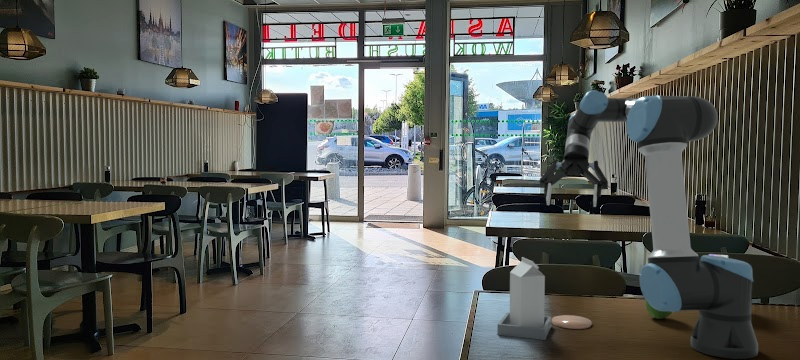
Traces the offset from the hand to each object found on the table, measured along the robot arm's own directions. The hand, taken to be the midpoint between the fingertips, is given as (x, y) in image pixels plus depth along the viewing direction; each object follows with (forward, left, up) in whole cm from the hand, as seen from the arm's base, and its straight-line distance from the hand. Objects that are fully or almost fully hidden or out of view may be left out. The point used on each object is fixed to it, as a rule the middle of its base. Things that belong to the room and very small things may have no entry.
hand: (570, 203), depth 189 cm
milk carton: (-4, +23, -33) cm, 40 cm away
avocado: (-19, -18, -34) cm, 43 cm away
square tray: (-4, +23, -34) cm, 41 cm away
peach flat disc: (-7, +7, -34) cm, 35 cm away
